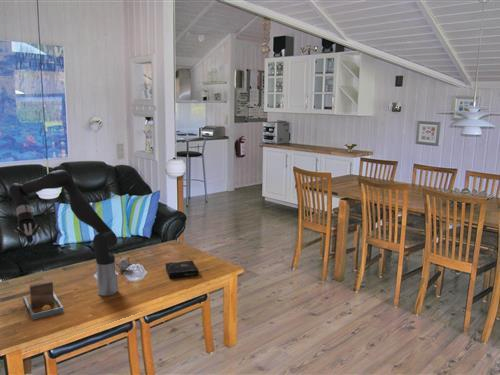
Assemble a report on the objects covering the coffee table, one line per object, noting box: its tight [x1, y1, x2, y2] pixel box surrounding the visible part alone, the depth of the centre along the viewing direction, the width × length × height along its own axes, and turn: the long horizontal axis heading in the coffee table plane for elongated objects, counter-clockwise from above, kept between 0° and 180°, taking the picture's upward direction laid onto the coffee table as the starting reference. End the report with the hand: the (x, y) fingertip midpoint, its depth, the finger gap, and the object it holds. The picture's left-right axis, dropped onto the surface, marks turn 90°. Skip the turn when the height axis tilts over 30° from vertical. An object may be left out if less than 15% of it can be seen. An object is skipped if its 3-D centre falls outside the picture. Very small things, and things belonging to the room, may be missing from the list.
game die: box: [115, 256, 133, 271], centre depth 264 cm, size 9×8×10 cm
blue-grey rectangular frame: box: [28, 298, 64, 321], centre depth 214 cm, size 11×14×2 cm
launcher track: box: [23, 290, 59, 312], centre depth 224 cm, size 16×14×2 cm
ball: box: [41, 304, 52, 312], centre depth 212 cm, size 4×4×4 cm
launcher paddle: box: [28, 280, 55, 309], centre depth 220 cm, size 3×10×11 cm, turn 125°
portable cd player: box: [165, 260, 199, 280], centre depth 264 cm, size 16×17×4 cm
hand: (30, 242), depth 235 cm, fingers closed
